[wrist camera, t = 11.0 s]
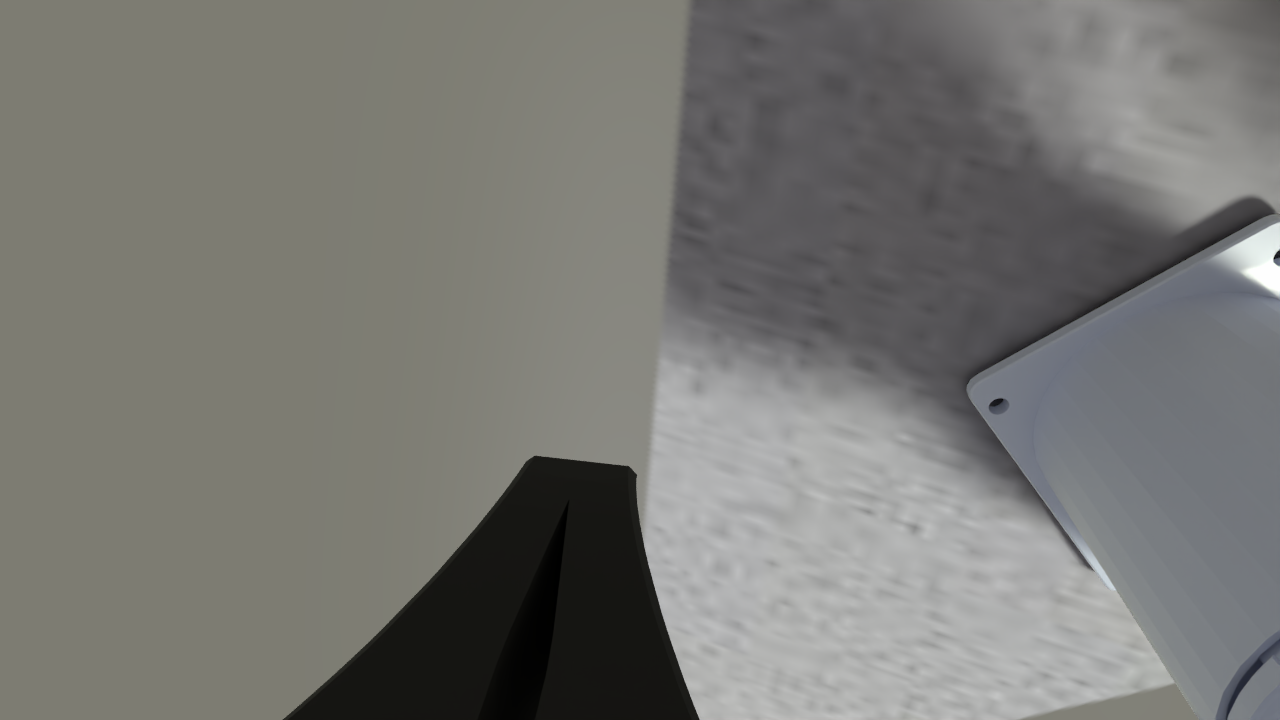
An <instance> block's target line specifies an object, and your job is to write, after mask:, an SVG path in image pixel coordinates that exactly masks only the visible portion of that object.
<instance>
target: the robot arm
mask: <svg viewBox="0 0 1280 720" xmlns="http://www.w3.org/2000/svg"><path fill="white" fill-rule="evenodd" d="M1278 250H1280V214H1273V215H1269V216H1266V217H1264V218H1261V219H1259V220H1257V221H1256V222H1254V223H1252V224H1250V225H1248V226H1246V227H1245V228H1243V229H1241V230H1239V231H1237V232H1236V233H1234V234H1232V235H1230V236H1228V237H1226V238H1225V239H1223V240H1221V241H1219V242H1217V243H1215V244H1214V245H1212V246H1210V247H1208V248H1206V249H1205V250H1203V251H1201V252H1199V253H1197V254H1195V255H1194V256H1192V257H1190V258H1188V259H1186V260H1185V261H1183V262H1181V263H1179V264H1177V265H1175V266H1174V267H1172V268H1170V269H1168V270H1166V271H1164V272H1163V273H1161V274H1159V275H1157V276H1155V277H1154V278H1152V279H1150V280H1148V281H1146V282H1144V283H1143V284H1141V285H1139V286H1137V287H1135V288H1134V289H1132V290H1130V291H1128V292H1126V293H1124V294H1123V295H1121V296H1119V297H1117V298H1115V299H1113V300H1112V301H1110V302H1108V303H1106V304H1104V305H1103V306H1101V307H1099V308H1097V309H1095V310H1093V311H1092V312H1090V313H1088V314H1086V315H1084V316H1083V317H1081V318H1079V319H1077V320H1075V321H1073V322H1072V323H1070V324H1068V325H1066V326H1064V327H1062V328H1061V329H1059V330H1057V331H1055V332H1053V333H1052V334H1050V335H1048V336H1046V337H1044V338H1042V339H1041V340H1039V341H1037V342H1035V343H1033V344H1032V345H1030V346H1028V347H1026V348H1024V349H1022V350H1021V351H1019V352H1017V353H1015V354H1013V355H1011V356H1010V357H1008V358H1006V359H1004V360H1002V361H1001V362H999V363H997V364H995V365H993V366H991V367H990V368H988V369H986V370H984V371H982V372H981V373H979V374H977V375H976V376H974V377H973V378H972V379H971V380H970V381H969V383H968V384H967V390H966V391H967V394H968V396H969V398H970V400H971V402H972V403H973V405H974V406H975V407H976V409H977V410H978V411H979V413H980V414H981V416H982V417H983V418H984V420H985V421H986V422H987V424H988V425H989V427H990V428H991V429H992V431H993V432H994V433H995V435H996V436H997V438H998V439H999V440H1000V442H1001V443H1002V444H1003V446H1004V447H1005V449H1006V450H1007V451H1008V453H1009V454H1010V456H1011V457H1012V458H1013V460H1014V461H1015V462H1016V464H1017V465H1018V467H1019V468H1020V469H1021V471H1022V472H1023V473H1024V475H1025V476H1026V478H1027V479H1028V480H1029V482H1030V483H1031V484H1032V486H1033V487H1034V489H1035V490H1036V491H1037V493H1038V494H1039V495H1040V497H1041V498H1042V500H1043V501H1044V502H1045V504H1046V505H1047V506H1048V508H1049V509H1050V511H1051V512H1052V513H1053V515H1054V516H1055V518H1056V519H1057V520H1058V522H1059V523H1060V524H1061V526H1062V527H1063V529H1064V530H1065V531H1066V533H1067V534H1068V535H1069V537H1070V538H1071V540H1072V541H1073V542H1074V544H1075V545H1076V546H1077V548H1078V549H1079V551H1080V552H1081V553H1082V555H1083V556H1084V557H1085V559H1086V560H1087V562H1088V563H1089V564H1090V566H1091V567H1092V568H1093V570H1094V571H1095V573H1096V574H1097V575H1098V577H1099V578H1100V580H1101V581H1102V582H1103V584H1104V585H1105V586H1106V587H1107V588H1108V589H1110V590H1113V591H1117V592H1118V594H1119V595H1120V597H1121V598H1122V600H1123V601H1124V603H1125V605H1126V606H1127V608H1128V609H1129V611H1130V612H1131V614H1132V616H1133V617H1134V619H1135V620H1136V622H1137V623H1138V625H1139V627H1140V628H1141V630H1142V631H1143V633H1144V634H1145V636H1146V638H1147V639H1148V641H1149V642H1150V644H1151V645H1152V647H1153V649H1154V650H1155V652H1156V653H1157V655H1158V656H1159V658H1160V660H1161V661H1162V663H1163V664H1164V666H1165V667H1166V669H1167V671H1168V672H1169V674H1170V675H1171V677H1172V678H1173V680H1174V682H1175V683H1176V685H1177V686H1178V688H1179V689H1180V691H1181V693H1182V694H1183V696H1184V697H1185V699H1186V700H1187V702H1188V704H1189V705H1190V707H1191V708H1192V710H1193V711H1194V713H1195V715H1196V716H1197V718H1198V719H1199V720H1280V257H1279V258H1277V259H1273V257H1274V255H1275V254H1276V252H1277V251H1278ZM999 398H1002V399H1004V400H1003V402H1002V403H1000V404H999V405H997V406H994V407H992V406H989V405H990V403H991V402H992V401H993V400H995V399H999ZM636 478H637V474H636V473H635V472H634V471H633V470H632V469H631V468H630V467H629V466H621V465H612V464H604V463H594V462H586V461H577V460H568V459H559V458H550V457H541V456H534V457H532V458H531V459H529V460H528V461H527V462H526V463H525V464H524V466H523V467H522V468H521V470H520V471H519V473H518V474H517V476H516V477H515V478H514V480H513V481H512V483H511V484H510V485H509V487H508V488H507V489H506V491H505V492H504V493H503V495H502V496H501V497H500V498H499V500H498V501H497V503H496V504H495V505H494V506H493V507H492V509H491V510H490V511H489V512H488V514H487V515H486V516H485V517H484V518H483V520H482V521H481V522H480V523H479V525H478V526H477V527H476V528H475V530H474V531H473V532H472V533H471V534H470V535H469V536H468V538H467V539H466V540H465V541H464V542H463V543H462V544H461V546H460V547H459V548H458V549H457V550H456V551H455V552H454V554H453V555H452V556H451V557H450V558H449V559H448V560H447V562H446V563H445V564H444V565H443V566H442V567H441V569H440V570H439V571H438V572H437V573H436V574H435V575H434V576H433V577H432V578H431V579H430V581H429V582H428V583H427V584H426V585H425V586H424V587H423V588H422V589H421V590H420V591H419V592H418V593H417V594H416V595H415V596H414V597H413V598H412V599H411V600H410V601H409V602H408V603H407V604H406V605H405V606H404V607H403V608H402V610H401V611H399V613H398V614H396V616H395V617H394V618H393V619H392V620H391V621H390V622H389V623H388V624H387V625H386V626H385V627H384V628H383V629H382V630H381V631H380V632H379V633H378V634H377V635H376V636H375V637H374V638H373V639H372V640H371V641H370V642H369V643H368V644H366V645H365V647H363V648H362V649H361V650H360V651H359V652H358V653H357V654H356V655H355V656H354V657H353V658H352V659H351V660H350V661H348V662H347V664H345V665H344V666H343V667H342V668H341V669H340V670H339V671H338V672H337V673H336V674H334V675H333V676H332V677H331V678H330V679H329V680H328V681H327V682H325V683H324V684H323V685H322V686H321V687H320V688H319V689H317V690H316V692H314V693H313V694H312V695H311V696H310V697H308V698H307V699H306V700H305V701H304V702H303V703H302V704H301V705H299V706H298V707H297V708H296V709H295V710H294V711H292V712H291V713H290V714H289V715H288V716H287V717H286V718H284V719H283V720H699V717H698V715H697V712H696V710H695V707H694V705H693V702H692V700H691V697H690V694H689V692H688V689H687V686H686V684H685V681H684V678H683V675H682V673H681V670H680V667H679V664H678V661H677V658H676V655H675V652H674V650H673V647H672V644H671V641H670V638H669V635H668V632H667V629H666V625H665V622H664V619H663V616H662V613H661V609H660V606H659V602H658V598H657V595H656V591H655V587H654V584H653V580H652V576H651V573H650V569H649V565H648V561H647V557H646V552H645V548H644V543H643V538H642V532H641V527H640V521H639V514H638V507H637V495H636Z"/></svg>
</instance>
